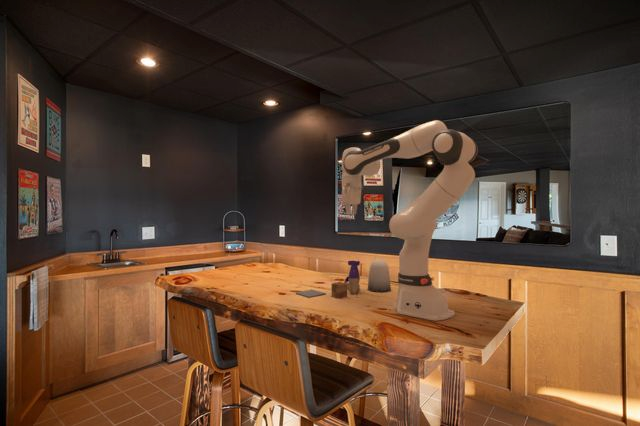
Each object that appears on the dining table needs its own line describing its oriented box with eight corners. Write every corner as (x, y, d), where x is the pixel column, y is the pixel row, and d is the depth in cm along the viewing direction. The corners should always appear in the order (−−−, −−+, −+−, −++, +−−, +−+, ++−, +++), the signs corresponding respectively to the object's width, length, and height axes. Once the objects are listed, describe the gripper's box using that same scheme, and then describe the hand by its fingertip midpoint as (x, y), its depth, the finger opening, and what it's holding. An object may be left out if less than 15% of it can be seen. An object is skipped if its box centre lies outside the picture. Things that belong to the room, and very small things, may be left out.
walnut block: (347, 296, 163) (347, 283, 163) (339, 298, 160) (339, 285, 160) (339, 294, 167) (339, 281, 167) (331, 296, 164) (331, 283, 164)
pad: (325, 294, 168) (325, 293, 168) (308, 298, 161) (308, 296, 161) (312, 290, 175) (312, 289, 175) (295, 293, 169) (295, 292, 169)
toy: (390, 287, 181) (390, 257, 181) (391, 292, 170) (391, 261, 170) (368, 286, 183) (368, 257, 183) (367, 291, 172) (367, 260, 172)
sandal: (359, 285, 187) (359, 256, 186) (360, 294, 167) (360, 262, 167) (343, 285, 188) (343, 256, 187) (342, 294, 168) (342, 262, 167)
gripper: (352, 182, 154) (352, 215, 154) (363, 184, 173) (363, 213, 173) (338, 182, 156) (337, 214, 156) (350, 185, 175) (350, 213, 176)
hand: (351, 214), depth 165 cm, fingers open, 8 cm apart
